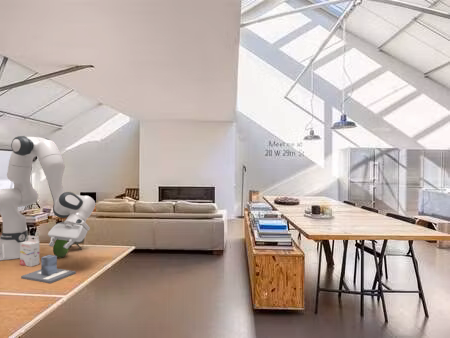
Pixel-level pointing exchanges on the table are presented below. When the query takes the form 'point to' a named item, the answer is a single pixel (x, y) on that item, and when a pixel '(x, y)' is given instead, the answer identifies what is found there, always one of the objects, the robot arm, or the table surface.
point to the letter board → (48, 279)
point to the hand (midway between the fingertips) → (57, 246)
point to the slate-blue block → (48, 265)
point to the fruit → (60, 248)
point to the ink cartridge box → (30, 251)
